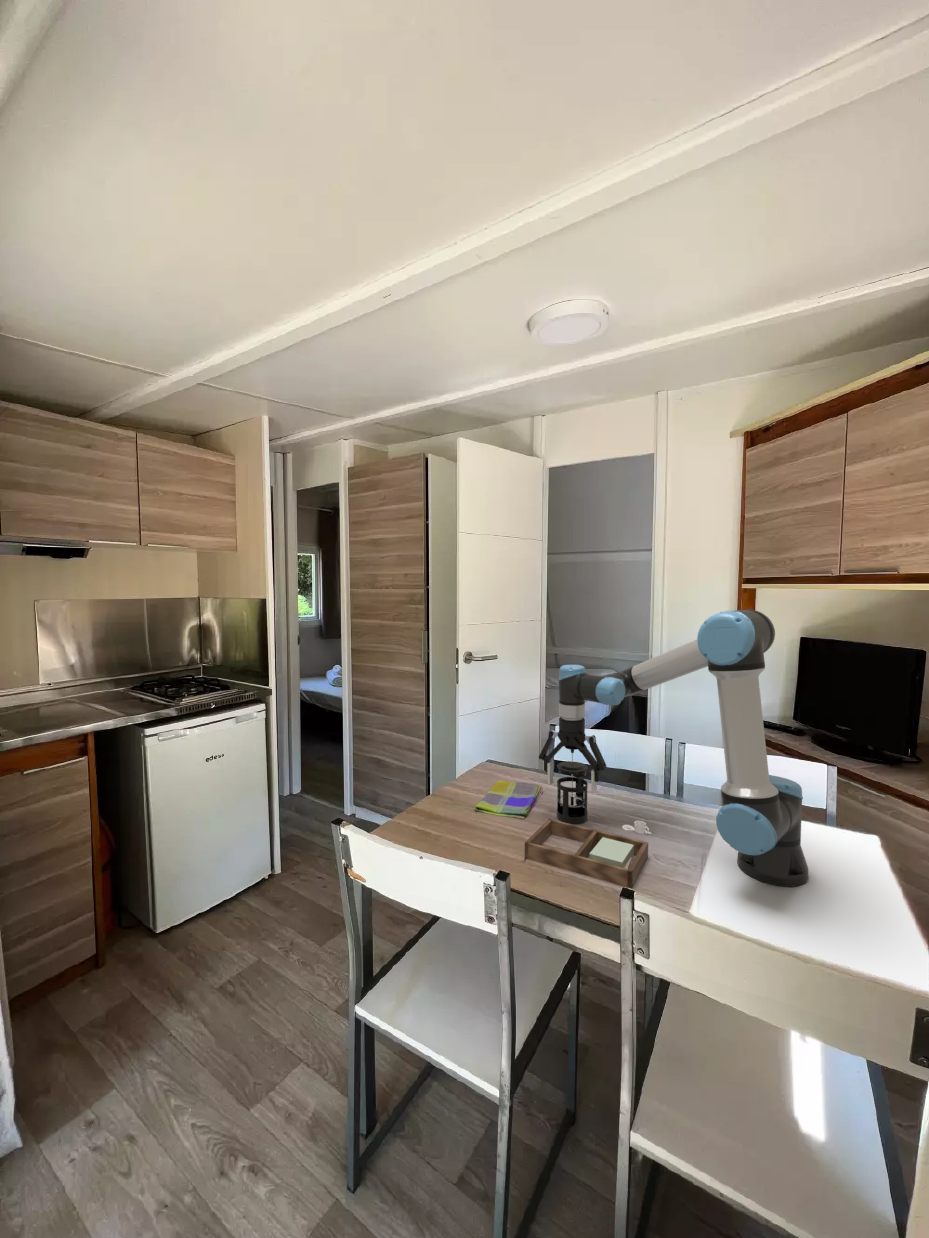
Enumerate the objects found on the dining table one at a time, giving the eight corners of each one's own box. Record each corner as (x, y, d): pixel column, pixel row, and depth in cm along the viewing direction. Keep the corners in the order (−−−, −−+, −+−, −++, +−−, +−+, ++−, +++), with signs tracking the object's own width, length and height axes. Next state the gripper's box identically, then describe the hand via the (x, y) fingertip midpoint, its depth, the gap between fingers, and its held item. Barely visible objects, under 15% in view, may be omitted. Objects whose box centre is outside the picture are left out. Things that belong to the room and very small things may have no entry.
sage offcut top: (633, 852, 134) (633, 844, 133) (622, 870, 125) (622, 862, 125) (602, 844, 138) (602, 837, 138) (589, 861, 130) (589, 853, 129)
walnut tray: (647, 861, 135) (648, 842, 135) (631, 893, 121) (631, 872, 121) (549, 835, 149) (549, 818, 149) (524, 861, 136) (524, 842, 135)
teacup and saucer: (617, 831, 152) (617, 818, 152) (640, 827, 155) (641, 813, 154) (636, 846, 144) (636, 831, 144) (660, 841, 146) (661, 826, 146)
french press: (579, 832, 151) (579, 753, 149) (549, 823, 157) (549, 747, 155) (595, 817, 160) (596, 743, 159) (567, 810, 166) (567, 738, 164)
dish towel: (471, 812, 166) (471, 804, 166) (496, 785, 189) (496, 777, 188) (526, 821, 160) (526, 812, 159) (544, 791, 182) (544, 783, 182)
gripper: (617, 719, 153) (617, 791, 155) (538, 709, 166) (538, 775, 168) (610, 725, 147) (609, 800, 148) (528, 714, 160) (528, 783, 161)
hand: (571, 787), depth 158 cm, fingers open, 13 cm apart
